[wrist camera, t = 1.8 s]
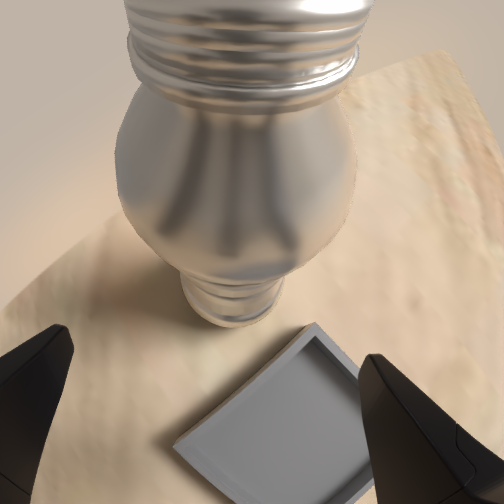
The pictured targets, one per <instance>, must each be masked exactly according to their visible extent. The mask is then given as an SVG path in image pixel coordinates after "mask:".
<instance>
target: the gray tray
mask: <svg viewBox="0 0 504 504" xmlns="http://www.w3.org/2000/svg"><path fill="white" fill-rule="evenodd" d="M359 370H360V368H359V367H358V366H357V365H356V364H355V363H354V362H353V361H352V360H351V359H350V358H349V357H348V356H347V355H346V354H345V353H344V352H343V351H342V350H341V349H340V347H339V346H338V345H337V344H336V343H335V342H334V341H333V340H332V339H331V338H330V337H329V336H328V335H327V334H326V333H325V332H324V331H323V330H322V329H321V327H320V326H319V325H318V324H317V323H316V322H314V323H311V324H308V325H306V326H305V327H304V328H303V329H302V330H301V331H300V332H299V333H298V334H297V335H296V336H295V337H294V338H293V339H292V340H291V341H290V342H289V343H288V344H287V345H286V346H285V347H284V348H282V349H281V350H280V351H279V352H278V353H277V354H276V355H275V356H274V357H273V358H272V359H271V360H270V361H269V362H267V363H266V364H265V365H264V366H263V367H262V368H261V369H260V370H259V371H258V372H256V373H255V374H254V375H253V376H252V377H251V378H250V379H249V380H247V381H246V382H245V383H244V384H243V385H242V386H241V387H239V388H238V389H237V390H236V391H235V392H234V393H232V394H231V395H230V396H229V397H228V398H227V399H225V400H224V401H223V402H222V403H221V404H219V405H218V406H217V407H216V408H215V409H213V410H212V411H211V412H210V413H208V414H207V415H206V416H205V417H203V418H202V419H201V420H200V421H198V422H197V423H196V424H195V425H193V426H192V427H191V428H190V429H188V430H187V431H186V432H184V433H183V434H182V435H181V436H179V437H178V438H177V440H176V441H175V443H174V445H173V446H172V447H173V448H174V449H175V450H176V451H177V452H178V453H179V454H180V455H181V456H182V457H183V458H184V459H185V460H186V461H187V462H188V463H189V464H190V465H191V466H192V467H193V468H195V469H196V470H197V471H198V472H199V473H200V474H201V475H202V476H203V477H205V478H206V479H207V480H208V481H209V482H210V483H211V484H213V485H214V486H215V487H216V488H217V489H219V490H220V491H221V492H222V493H223V494H225V495H226V496H227V497H228V498H230V499H231V500H232V501H234V502H235V503H236V504H354V503H355V502H356V501H357V500H358V499H359V498H360V497H361V496H363V495H364V494H365V493H366V492H367V491H368V490H369V489H370V488H371V487H372V486H373V485H374V478H373V473H372V467H371V462H370V457H369V451H368V446H367V441H366V437H365V432H364V427H363V422H362V413H361V403H360V394H359V385H358V373H359Z"/></svg>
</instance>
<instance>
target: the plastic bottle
mask: <svg viewBox="0 0 504 504" xmlns="http://www.w3.org/2000/svg"><path fill="white" fill-rule="evenodd" d="M374 1H375V0H124V4H125V8H126V14H127V18H128V23H129V28H130V31H129V34H128V37H127V47H128V52H129V56H130V60H131V64H132V68H133V70H134V72H135V74H136V76H137V78H138V79H139V80H140V81H141V82H142V84H141V85H140V87H139V88H138V90H137V91H136V93H135V94H134V97H133V99H132V101H131V103H130V106H129V108H128V110H127V112H126V115H125V117H124V120H123V122H122V125H121V127H120V129H119V132H118V135H117V141H116V147H115V168H116V179H117V189H118V196H119V199H120V202H121V204H122V207H123V210H124V213H125V215H126V217H127V219H128V220H129V222H130V223H131V225H132V226H133V228H134V229H135V231H136V232H137V234H138V235H139V236H140V237H141V238H142V239H143V240H144V241H145V242H146V244H147V245H148V246H149V247H150V248H151V249H152V250H153V251H155V252H156V253H157V254H158V255H159V256H160V257H161V258H162V259H163V260H164V261H165V262H167V263H168V264H170V265H172V266H173V267H175V268H176V269H178V270H179V271H180V279H181V284H182V288H183V292H184V294H185V296H186V299H187V301H188V302H189V304H190V305H191V306H192V308H193V309H194V310H195V311H196V312H197V313H198V314H199V315H200V316H201V317H202V318H204V319H206V320H207V321H209V322H211V323H213V324H216V325H219V326H222V327H229V328H238V327H245V326H248V325H252V324H254V323H256V322H258V321H260V320H262V319H263V318H264V317H265V316H267V315H268V314H269V313H270V312H271V311H272V310H273V308H274V307H275V306H276V304H277V302H278V300H279V298H280V296H281V293H282V289H283V285H284V277H285V276H286V275H287V274H289V273H291V272H293V271H295V270H296V269H298V268H300V267H302V266H304V265H305V264H306V263H307V262H308V261H309V260H311V259H312V258H313V257H314V256H315V255H316V254H317V253H319V252H320V251H321V250H322V249H323V248H324V247H325V246H326V245H328V244H329V243H330V242H331V241H332V240H333V238H334V237H335V235H336V234H337V233H338V231H339V230H340V228H341V227H342V225H343V224H344V222H345V220H346V217H347V215H348V212H349V209H350V207H351V204H352V200H353V194H354V187H355V180H356V171H357V154H356V147H355V141H354V137H353V134H352V131H351V127H350V124H349V121H348V118H347V115H346V112H345V110H344V107H343V105H342V103H341V100H340V98H339V97H338V94H339V93H340V92H341V91H342V90H343V89H344V88H345V87H346V85H347V83H348V81H349V79H350V77H351V75H352V73H353V70H354V68H355V66H356V63H357V61H358V58H359V46H358V41H359V38H360V36H361V33H362V31H363V28H364V26H365V23H366V21H367V18H368V16H369V13H370V11H371V8H372V6H373V3H374Z"/></svg>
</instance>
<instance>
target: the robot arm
mask: <svg viewBox="0 0 504 504" xmlns="http://www.w3.org/2000/svg"><path fill="white" fill-rule="evenodd" d="M73 353H74V345H73V342H72V339H71V336H70V333H69V330H68V328H67V327H66V326H64V325H59V324H54V325H52V326H50V327H49V328H47V329H45V330H44V331H42V332H40V333H39V334H37V335H36V336H34V337H32V338H31V339H29V340H27V341H26V342H24V343H22V344H21V345H19V346H18V347H16V348H14V349H13V350H11V351H10V352H8V353H6V354H5V355H3V356H2V357H0V504H30V500H31V494H32V490H33V486H34V482H35V478H36V474H37V470H38V466H39V462H40V459H41V455H42V452H43V449H44V445H45V442H46V439H47V436H48V432H49V429H50V426H51V423H52V420H53V417H54V415H55V412H56V409H57V406H58V403H59V401H60V398H61V395H62V392H63V389H64V385H65V381H66V378H67V374H68V370H69V367H70V363H71V360H72V356H73ZM358 385H359V394H360V403H361V413H362V422H363V427H364V432H365V437H366V441H367V446H368V451H369V457H370V462H371V467H372V473H373V478H374V484H375V490H376V496H377V502H378V504H504V460H502V459H501V458H500V457H498V456H497V455H496V454H494V453H493V452H491V451H490V450H489V449H487V448H486V447H485V446H484V445H482V444H481V443H480V442H478V441H477V440H476V439H475V438H474V437H472V436H471V435H470V434H469V433H468V432H467V431H466V430H464V429H463V428H462V427H461V426H460V425H459V424H456V421H455V420H453V419H452V418H451V417H450V416H449V415H448V414H447V413H446V412H445V411H444V410H442V409H441V408H440V407H439V406H438V405H437V404H436V403H435V402H434V401H433V400H431V399H430V398H429V397H428V396H427V395H426V394H425V393H424V392H423V391H422V390H420V389H419V388H418V387H417V386H416V385H415V384H414V383H413V382H412V381H410V380H409V379H408V378H407V377H406V376H405V375H404V374H403V373H402V372H400V371H399V370H398V369H397V368H396V367H395V366H394V365H393V364H392V363H390V362H389V361H388V360H387V359H386V358H385V357H384V356H383V355H381V354H368V355H367V356H366V358H365V360H364V362H363V364H362V366H361V368H360V370H359V373H358Z"/></svg>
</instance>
